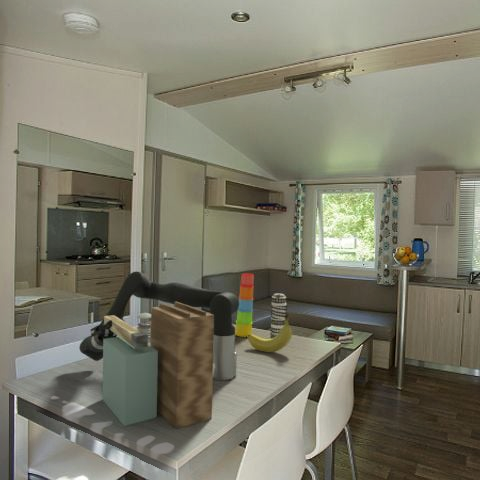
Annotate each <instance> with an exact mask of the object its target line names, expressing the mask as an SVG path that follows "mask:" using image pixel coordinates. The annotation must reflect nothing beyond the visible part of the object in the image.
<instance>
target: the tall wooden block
mask: <svg viewBox="0 0 480 480" xmlns="http://www.w3.org/2000/svg"><path fill="white" fill-rule="evenodd" d="M150 309H151V312H150V314H151V318H150V322H151V325H150V326H151V345H150V346H151V347H152V348H154V349H155V350H157V351H158V370H157V412H158V413H159V414H160V415H161V416H162V417H163V418H164V419H165V420H166V421H168V422H169V424H170V425H172V426H173V428H175V429H176V430H177V429H179V428H184V427H186V426H187V427H188V426H192V425H193V424H194V425H195V424H197V423H201V422H204V420H205V421H208V420H211V419H212V418H213V417H212V416H213V415H212V414H213V380H214V379H213V341H214V315H213V314H210V312H207V311H206V310H205V311H204V310H202V309H199V308H198V307H191V306H188V305H185V304H182V303H179V302H174V304H171V305H169V304H166V303H163V302H159V306H155V307H154V306H152V307H151V308H150ZM207 419H208V420H207Z"/></svg>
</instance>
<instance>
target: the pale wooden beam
mask: <svg viewBox="0 0 480 480" xmlns="http://www.w3.org/2000/svg"><path fill="white" fill-rule="evenodd" d="M103 319H104V324H105V323H107V322H108V321H109V320H112V327H111V328H110V329H109V330H111V331H112V332H113V333H115V334H116V335H117V337H121V338H122V339H123V340H125V341H126V342H128V343H129V344H130V345H132V346H133V347H134V348H142V347H147V341H148V335H147V334H145V333H144V332H141V331H140V330H138V329H137V327H134V326H133V325H131V324H129V323H128V322H127V321H125V320H124V319H123V320H124V321H125V322H124V321H123V320H121V319H119V318H118V317H116V316H114V315H111V316H106V315H104V317H103Z"/></svg>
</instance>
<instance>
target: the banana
mask: <svg viewBox="0 0 480 480" xmlns="http://www.w3.org/2000/svg"><path fill="white" fill-rule="evenodd" d="M286 313H287V314H285V315H286V316H285V317H284V318H285V324H284V326H283V328H282V329H281V331H280V332H279V334H278V335H277V336H276V337H274V338H272V339H271V338H268V339H267V338H262V337H260V336H259V335H255V334H253V333H252V334H249V335H248V337H247V339H248V343H249V344H250V346H252V348H254V350H255V349H256V350H257V351H259V350H260V352H262V351H266V352H265V353H274V352H279V351H280V350H281V349H283V348H285V347H286V346H287V345H288V344H289V343H290V341H291V339H292V337H293V336H292V335H293V334H292V333H293V332H292V328H291V327H290V324H289V319H290V317H291V314H290V313H288V312H286Z"/></svg>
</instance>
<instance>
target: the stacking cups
mask: <svg viewBox="0 0 480 480" xmlns="http://www.w3.org/2000/svg"><path fill="white" fill-rule="evenodd" d="M254 277H255V276H254V273H242V274H241V279H240V285H239V296H237V298H238V300H239V307H238V309H237V311H236V312H237V314H236V320H235V323H236V324H235V337H236V336H237V337H240V338H247V337H246V336H248V335H249V334H251V333H252V327H253V324H254V323H253V312H254V309H253V307H254V305H253V304H254V288H255V286H254Z"/></svg>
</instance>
